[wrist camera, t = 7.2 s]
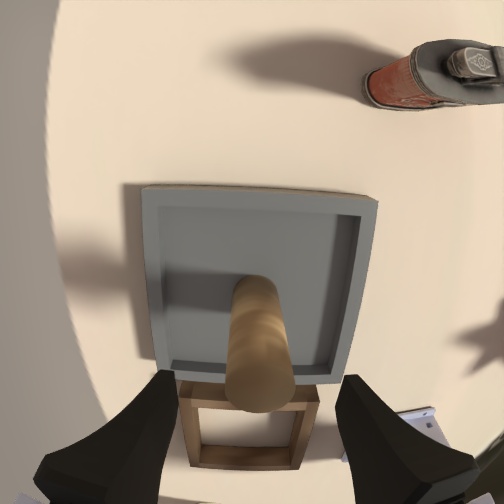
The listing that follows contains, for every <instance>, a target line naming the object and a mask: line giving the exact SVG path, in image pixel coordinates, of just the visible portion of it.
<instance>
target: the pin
mask: <svg viewBox="0 0 504 504" xmlns="http://www.w3.org/2000/svg"><path fill="white" fill-rule="evenodd" d="M224 390H225V395H226V397H227V399H228V401H229V402H230V403H231V404H232V405H234V406H235V407H237V408H238V409H241V410H243V411H246V412H251V413H267V412H271V411H275V410H277V409H280V408H281V407H283V406H285V405H286V404H287V403H288V402H289V401H290V400H291V399H292V398H293V396H294V394H295V390H296V385H295V379H294V374H293V369H292V363H291V358H290V353H289V348H288V342H287V337H286V332H285V327H284V322H283V316H282V311H281V306H280V301H279V296H278V291H277V288H276V286H275V284H274V283H273V282H272V281H271V280H270V279H268V278H267V277H264V276H261V275H250V276H247V277H244V278H243V279H241V280H240V281H239V282H238V283H237V284H236V286H235V287H234V290H233V297H232V308H231V319H230V330H229V341H228V353H227V365H226V377H225V389H224Z"/></svg>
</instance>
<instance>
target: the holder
mask: <svg viewBox="0 0 504 504" xmlns="http://www.w3.org/2000/svg"><path fill="white" fill-rule="evenodd" d="M224 389H225V383H211V382H198V381H186V380H183V381H182V384H181V388H180V392H179V396H178V399H179V406H180V412H181V419H182V425H183V431H184V437H185V442H186V448H187V453H188V458H189V463H190V467H198V468H209V469H223V470H246V471H280V470H299V468H300V465H301V462H302V459H303V456H304V453H305V450H306V447H307V444H308V441H309V437H310V434H311V431H312V427H313V424H314V421H315V417H316V414H317V410H318V407H319V403H320V400H319V396H318V392H317V388H316V384H313V385H296V390H295V394H294V396H293V398H292V399H291V400H290V401H289V402H288V403H287V404H286V405H285V406H283V407H281V408H280V409H277V410H275V411H297V413H296V418H295V422H294V427H293V431H292V435H291V439H290V443H289V447H229V446H213V445H202V443H201V434H200V425H199V415H198V408H210V409H225V410H241V409H238V408H237V407H235V406H234V405H232V404H231V403H230V402H229V401H228V399H227V397H226V395H225V390H224Z"/></svg>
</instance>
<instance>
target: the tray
mask: <svg viewBox="0 0 504 504" xmlns="http://www.w3.org/2000/svg"><path fill="white" fill-rule="evenodd" d="M141 202H142V229H143V247H144V261H145V274H146V285H147V296H148V305H149V314H150V322H151V330H152V338H153V345H154V352H155V358H156V365H157V371H159V370H160V369H163V370H172V371H174V373H175V379H176V380H186V381H198V382H211V383H225V377H226V365H227V353H228V341H229V330H230V319H231V308H232V297H233V290H234V287H235V286H236V284H237V283H238V282H239V281H240V280H241V279H243V278H244V277H247V276H250V275H261V276H264V277H267V278H268V279H270V280H271V281H272V282H273V283H274V284H275V286H276V288H277V291H278V296H279V301H280V306H281V311H282V316H283V322H284V327H285V332H286V337H287V342H288V348H289V353H290V358H291V363H292V369H293V374H294V379H295V385H313V384H337V383H341V380H342V377H343V373H344V370H345V366H346V363H347V359H348V355H349V351H350V348H351V344H352V340H353V336H354V332H355V328H356V323H357V319H358V315H359V310H360V306H361V301H362V297H363V292H364V287H365V282H366V277H367V271H368V266H369V260H370V255H371V249H372V243H373V237H374V230H375V223H376V216H377V209H378V201H377V200H375V199H373V198H371V197H369V196H365V195H355V194H345V193H333V192H322V191H309V190H295V189H279V188H261V187H239V186H210V185H150V186H147V187H145V188H143V189H141Z"/></svg>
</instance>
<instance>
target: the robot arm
mask: <svg viewBox="0 0 504 504" xmlns="http://www.w3.org/2000/svg"><path fill="white" fill-rule="evenodd" d="M178 405H179V402H178V395H177V388H176V381H175V373H174V371H172V370H163V369H160V370H159V371H158V372H157V373H156V374H155V376H154V377H153V378H152V379H151V380H150V382H149V383H148V384H147V385H146V386H145V387H144V389H143V390H142V391H141V392H140V393H139V394H138V395H137V396H136V397H135V398H134V399H133V401H132V402H131V403H129V404H128V405H127V406H126V407H125V408H124V409H123V410H122V411H121V412H120V413H119V414H118V415H117V416H115V417H114V418H113V419H112V420H111V421H109V422H108V423H107V424H105V425H104V426H103V427H101V428H100V429H98V430H97V431H95V432H94V433H92V434H91V435H89V436H87V437H86V438H84V439H82V440H80V441H78V442H76V443H74V444H72V445H70V446H68V447H66V448H63V449H61V450H58V451H55V452H53V453H50V454H47V455H45V457H44V458H43V460H42V461H41V464H40V465H39V468H38V469H37V472H36V474H35V476H34V478H33V480H34V483H35V485H36V486H37V487H38V488H39V490H41V492H42V493H43V494H44V495H45V496H46V497H47V498H48V499H49V500H50V504H157V502H158V494H159V487H160V480H161V474H162V469H163V464H164V461H165V457H166V454H167V450H168V447H169V444H170V440H171V437H172V434H173V430H174V427H175V423H176V417H177V411H178ZM335 411H336V418H337V424H338V428H339V432H340V435H341V438H342V442H343V445H344V448H345V452H344V454H343V456H342V459H341V460H342V462H349V465H350V469H351V474H352V480H353V486H354V494H355V502H356V504H464V502H463V500H464V499H465V498H466V496H465V494H464V491H465V490H466V489H467V488H468V487H469V486H470V485H471V484H472V483H473V482H474V481H475V480H476V479H477V477H478V476H479V474H480V468H479V466H478V465H477V463H476V461H475V459H474V457H473V456H472V455H469V454H466V453H463V452H460V451H457V450H455V449H452V448H451V447H450V445H449V443H448V441H447V439H446V437H445V436H444V434H443V432H442V430H441V428H440V426H439V425H438V423H437V421H436V419H435V417H434V416H433V415H434V413H435V411H436V409H435V408H434V407H432V408H427V409H422V410H417V411H411V412H406V413H400V414H396V413H395V412H394V411H393V410H392V409H391V408H390V407H389V406H388V405H386V404H385V403H384V402H383V401H382V400H381V399H380V398H379V397H378V395H377V394H376V393H375V392H374V391H373V390H372V389H371V388H370V387H369V386H368V385H367V384H366V383H365V382H364V381H363V379H362V378H361V377H360V376H359V375H358V374H354V375H344V379H343V382H342V385H341V389H340V392H339V395H338V398H337V402H336V405H335ZM14 504H44V503H42V502H40V501H38V500H36V499H34V498H32V497H29V496H28V495H26V494H24V493H22V492H20V493H19V494H18V496H17V498H16V501H15V502H14ZM467 504H495V503H494V501H493V499H492V497H491V495H490V493H487V494H485V495H483V496H481V497H479V498H477V499H474V500H472V501H471V502H469V503H467Z"/></svg>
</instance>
